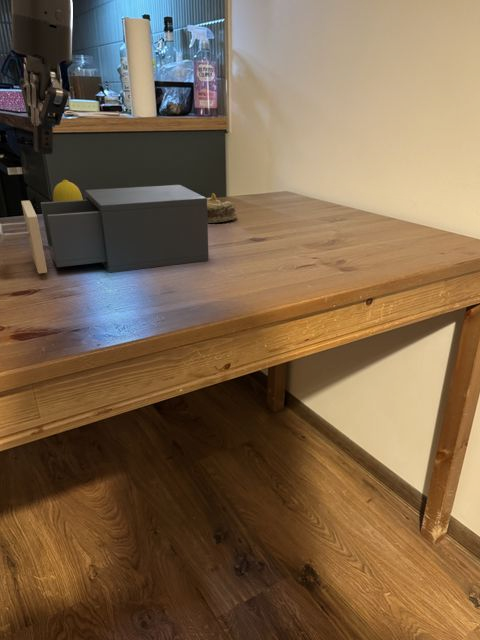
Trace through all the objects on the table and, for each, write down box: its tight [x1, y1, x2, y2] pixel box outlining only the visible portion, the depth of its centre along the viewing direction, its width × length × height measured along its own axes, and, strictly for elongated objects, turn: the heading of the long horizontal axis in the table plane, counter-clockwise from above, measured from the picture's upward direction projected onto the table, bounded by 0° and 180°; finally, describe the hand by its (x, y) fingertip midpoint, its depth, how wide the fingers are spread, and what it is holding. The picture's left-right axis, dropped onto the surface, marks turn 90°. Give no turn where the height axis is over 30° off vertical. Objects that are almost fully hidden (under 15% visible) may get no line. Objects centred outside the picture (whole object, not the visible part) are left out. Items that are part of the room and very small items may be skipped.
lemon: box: [52, 179, 84, 202], centre depth 100 cm, size 6×6×8 cm
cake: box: [206, 192, 238, 224], centre depth 105 cm, size 10×10×5 cm
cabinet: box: [84, 184, 210, 274], centre depth 80 cm, size 16×13×10 cm
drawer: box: [0, 199, 107, 274], centre depth 74 cm, size 19×12×8 cm, turn 117°
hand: (43, 152), depth 75 cm, fingers closed
